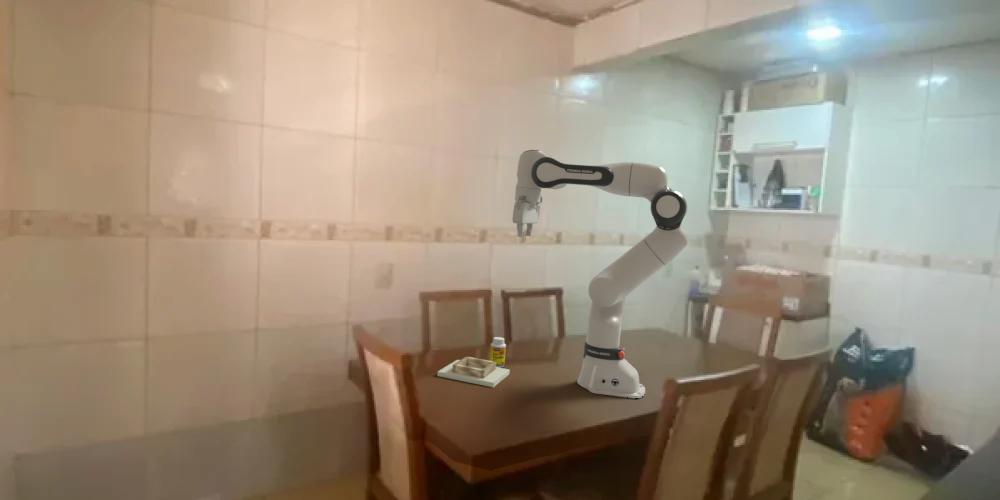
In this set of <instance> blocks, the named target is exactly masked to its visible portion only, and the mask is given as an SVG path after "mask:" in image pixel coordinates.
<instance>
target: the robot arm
mask: <svg viewBox="0 0 1000 500" xmlns="http://www.w3.org/2000/svg"><path fill="white" fill-rule="evenodd" d="M516 176H517V177H516V178H517V183H516V185H515V194H514V195H515V196H514V201H515V202H514V204H513V212H512V223H513V224H516V231H517V237H519V238H524V236H526V237H531V236H532V231H533V228H534V224H537V223H538V221H539V219H540V214H541V213H540V212H541V204H543V196H542V194H541V192H542V189H549V190H560V189H563V188H565V187H566V185H578V186H589V187H594V188H597V189H599V190H602V191H604V192H607V193H610V194H612V195H617V196H623V197H630V198H631V197H634V198H643V199H645V200H648V201H649V203H650V212H651V215H652V218H653V220H654V222H655V224H656V226H655V228H654V229H653V230H652V232H650V233H649V234H647V235H646V236H645V237H644V238H643V239H641V240H640V241H639V242H638V243H636V244H635V245H634V246H633V247H632V248H630V249H629V250H627V251H626V252H624V254H622V255H621V256H620V257H619V258H617V259H616V260H615V261H613V262H612V263H610V264H609V265H608V266H607V267H605V268H604V269H603V270H601V271H600V272H599V273H598V274H596V275H595V276H594V277H593V278H592V279H591V280H590V282H589V284H588V296H589V298H590V300H591V307H590V311H589V315H588V316H589V317H588V318H587V328H586V329H587V330H586V340H585V342H584V345H583V351H582V352H583V353H582V355H583V356H582V357H583V361H582V367H581V370H580V374H579V377H578V378H577V381H576V382H577V384H578V385H580V387H582V388H584V389H586V390H588V391H589V392H590V393H592V394H598V395H607V396H612V397H613V396H614V397H619V398H621V397H622V398H627V397H628V399H635V398H638V399H641V398H643V397H644V396H645V395H644V394H646V387H645V386H644V385H643V384H642V383H640V376H639V372H638V371H637V369H636V368H635V367H633V365H632V364H630V363H629V361H628V360H626V359H625V356H626V351H625V347H622V346H620V341H621V332H622V323H623V316H624V310H625V305H626V298H627V296H628V295H630V294H631V293H632V292H633V291H634V290H636V289H637V288H638V287H640V286H641V285H642V284H643V283H645V282H646V281H647V280H648V279H650V278H652V276H653V275H655V274H656V273H658V272H659V271H660V270H661V269H663V268H665V266H666V265H668V264H669V263H671V262H672V261H673V260H674V259H675V258H676V257H677V256H678V255H679V254H680V253H681V252H682V251H683V250H684V249H685V247H686V246H687V244H688V236H687V233H686V231H685V230H684V229H683V227H682V226H681V225H682V222H683V219H684V218H685V216H686V215H687V212H688V202H687V200H686V197H685V196H684V195H683V194H682V193H681V192H679V191H677V190H674V189H672V188H670V187H669V185H668V174H667V172H666V170H665V169H664V168H663V167H662V166H658V165H654V164H649V163H643V162H634V161H633V162H630V161H629V162H627V161H626V162H624V161H623V162H615V163H607V164H606V163H605V164H599V165H583V164H569V163H563V162H561V161H559V160H556V159H555V158H552V157H551V156H548V155H547V154H545V153H544V152H543V151H542V150H540V149H529V150H526V151H525V150H524V151H523V152H521V154H520V155H519V158H518V163H517V172H516ZM525 225H526V230H525V233H524V227H525ZM524 234H525V235H524ZM642 396H643V397H642Z"/></svg>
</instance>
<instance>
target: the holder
mask: <svg viewBox="0 0 1000 500" xmlns="http://www.w3.org/2000/svg"><path fill="white" fill-rule="evenodd" d="M496 364H497V362H493V361H489V359H488V360H487V359H483V358H476V357H472V356H468V355H467V356H465V357H463V358H462V359H456V360H454V361H453V362H452V363H450V364H448V365H446V366H444V367H443V368H441V369H440V370H438V371H437V373H436V374H437V377H440V378H447V379H450V380H455V381H461V382H465V383H469V384H470V383H471V384H475V385H480V386H484V387H489V388H495V387H496V386H497V385H498V384H499V383H501V382H502V381H503V380H504V379H505V378H507V377H508V376H509V375H510V373H511V372H510V371H511V370H510V369H508V368H503V367H501V368H499V367H496Z"/></svg>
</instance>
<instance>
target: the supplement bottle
mask: <svg viewBox="0 0 1000 500" xmlns="http://www.w3.org/2000/svg"><path fill="white" fill-rule="evenodd" d="M506 352H507V344H506V343H505V338H504V337H500V336H495V337H493V339H492V342H491V343H490V350H489V359H488V361H493V362H497V364H496V367H499V368H503V367H504V366H505V362H506V361H505V360H506Z"/></svg>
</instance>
